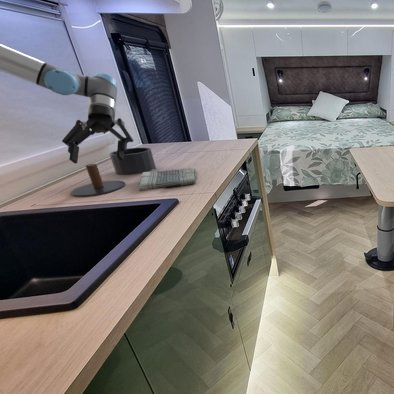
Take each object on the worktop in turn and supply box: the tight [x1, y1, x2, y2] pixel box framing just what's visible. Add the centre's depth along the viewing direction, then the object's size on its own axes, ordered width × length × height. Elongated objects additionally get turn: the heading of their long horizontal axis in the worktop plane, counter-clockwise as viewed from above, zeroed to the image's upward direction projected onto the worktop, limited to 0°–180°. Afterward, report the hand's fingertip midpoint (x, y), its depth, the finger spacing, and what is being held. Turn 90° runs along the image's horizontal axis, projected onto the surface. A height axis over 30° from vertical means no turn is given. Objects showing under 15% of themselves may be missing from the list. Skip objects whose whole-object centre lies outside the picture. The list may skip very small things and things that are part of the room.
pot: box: [109, 146, 157, 176], centre depth 120 cm, size 14×14×8 cm
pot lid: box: [70, 163, 126, 198], centre depth 98 cm, size 15×15×9 cm
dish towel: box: [137, 167, 197, 192], centre depth 108 cm, size 19×18×3 cm
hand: (97, 159), depth 100 cm, fingers open, 13 cm apart
